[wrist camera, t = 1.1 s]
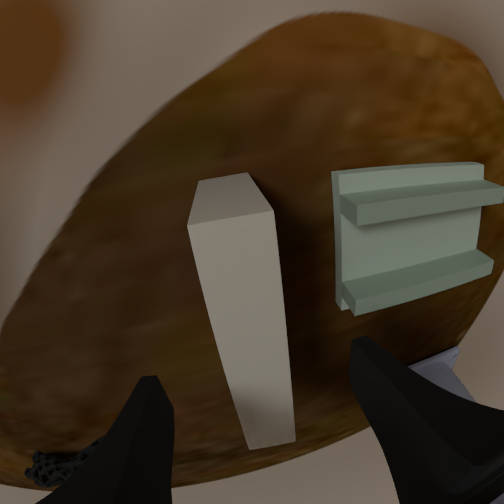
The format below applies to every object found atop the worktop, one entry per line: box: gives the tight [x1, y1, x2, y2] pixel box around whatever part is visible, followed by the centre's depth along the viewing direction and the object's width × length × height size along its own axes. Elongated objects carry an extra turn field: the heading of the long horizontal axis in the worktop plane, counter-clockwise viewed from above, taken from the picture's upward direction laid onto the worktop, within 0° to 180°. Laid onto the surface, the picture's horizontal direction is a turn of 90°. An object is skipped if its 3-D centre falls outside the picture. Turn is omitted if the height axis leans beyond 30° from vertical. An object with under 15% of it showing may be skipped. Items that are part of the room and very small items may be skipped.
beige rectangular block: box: [187, 173, 296, 450], centre depth 14 cm, size 12×2×7 cm, turn 7°
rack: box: [331, 162, 504, 316], centre depth 16 cm, size 8×11×3 cm
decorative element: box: [24, 436, 104, 488], centre depth 21 cm, size 22×5×6 cm, turn 124°
